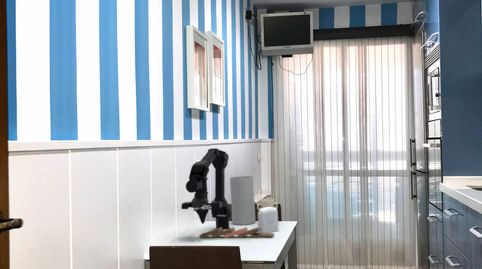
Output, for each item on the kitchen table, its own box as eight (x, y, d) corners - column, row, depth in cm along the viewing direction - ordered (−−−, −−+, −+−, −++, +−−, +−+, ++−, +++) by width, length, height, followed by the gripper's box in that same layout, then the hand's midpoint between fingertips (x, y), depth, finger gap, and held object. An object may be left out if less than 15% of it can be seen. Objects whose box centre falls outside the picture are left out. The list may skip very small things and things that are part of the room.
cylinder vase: (244, 220, 284) (242, 176, 284) (260, 222, 275) (257, 176, 275) (227, 224, 275) (225, 178, 276) (243, 226, 266) (240, 178, 266)
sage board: (191, 241, 232) (190, 240, 232) (200, 235, 245) (200, 234, 245) (250, 241, 225) (250, 239, 225) (256, 235, 238) (256, 234, 238)
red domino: (223, 234, 233) (243, 229, 230) (226, 232, 237) (246, 227, 235) (224, 238, 233) (244, 232, 230) (227, 236, 237) (247, 230, 235)
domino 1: (199, 235, 236) (218, 229, 233) (202, 233, 240) (221, 227, 238) (200, 238, 235) (219, 232, 233) (203, 236, 240) (222, 230, 238)
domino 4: (250, 234, 230) (272, 235, 227) (252, 232, 234) (274, 233, 232) (250, 238, 230) (272, 239, 227) (252, 235, 234) (274, 236, 232)
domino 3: (237, 234, 231) (257, 228, 229) (240, 232, 236) (260, 226, 234) (238, 238, 231) (258, 231, 229) (241, 236, 236) (261, 229, 233)
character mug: (277, 222, 271) (276, 198, 271) (279, 224, 264) (278, 199, 264) (257, 224, 270) (255, 199, 270) (258, 226, 263) (257, 201, 263)
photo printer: (274, 230, 247) (273, 205, 247) (280, 231, 244) (278, 206, 244) (257, 234, 241) (256, 208, 242) (262, 235, 238) (261, 208, 238)
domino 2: (211, 235, 234) (231, 229, 232) (214, 233, 239) (233, 227, 237) (212, 238, 234) (232, 232, 232) (215, 236, 239) (234, 230, 236)
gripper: (176, 192, 232) (178, 226, 232) (215, 191, 228) (216, 226, 228) (184, 190, 243) (186, 222, 243) (222, 189, 239) (223, 222, 238)
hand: (202, 223), depth 238 cm, fingers closed
